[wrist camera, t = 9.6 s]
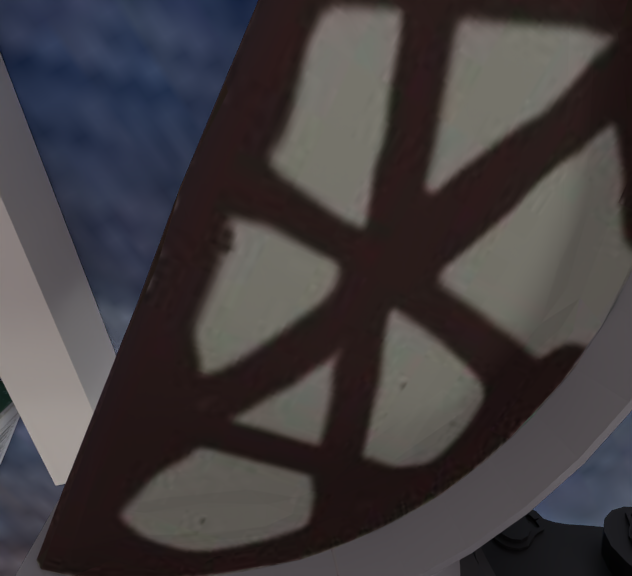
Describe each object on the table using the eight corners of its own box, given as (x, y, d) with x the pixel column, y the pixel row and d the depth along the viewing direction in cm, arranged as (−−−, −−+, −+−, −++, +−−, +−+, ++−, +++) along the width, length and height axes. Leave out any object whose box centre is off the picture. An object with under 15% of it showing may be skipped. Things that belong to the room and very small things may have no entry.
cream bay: (634, -351, 10) (751, -512, 7) (579, 328, 16) (633, 358, 14) (-226, -275, 8) (-417, -441, 6) (88, 433, 15) (55, 485, 12)
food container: (318, 381, 15) (406, 735, 6) (165, 324, 14) (-39, 681, 4) (491, 70, 13) (1175, -179, 3) (322, -46, 11) (676, -1240, 2)
